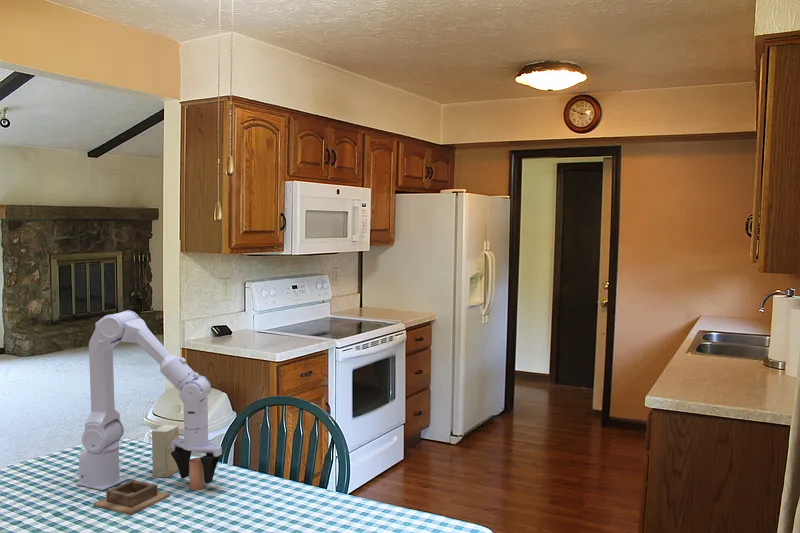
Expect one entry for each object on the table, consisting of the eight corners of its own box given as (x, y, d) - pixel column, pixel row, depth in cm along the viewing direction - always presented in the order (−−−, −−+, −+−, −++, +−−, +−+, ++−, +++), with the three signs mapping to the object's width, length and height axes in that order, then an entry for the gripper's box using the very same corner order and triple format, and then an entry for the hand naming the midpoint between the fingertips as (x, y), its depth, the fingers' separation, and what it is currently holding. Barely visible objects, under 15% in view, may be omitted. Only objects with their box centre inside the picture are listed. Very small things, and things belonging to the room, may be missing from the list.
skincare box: (167, 478, 172) (166, 432, 171) (151, 476, 173) (151, 431, 172) (179, 469, 178) (179, 425, 177) (164, 468, 179) (164, 424, 178)
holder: (93, 505, 154) (92, 492, 154) (133, 487, 165) (133, 475, 165) (131, 515, 149) (130, 502, 149) (170, 496, 160) (169, 483, 160)
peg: (186, 488, 165) (186, 461, 165) (196, 483, 168) (195, 456, 168) (197, 491, 164) (196, 463, 163) (206, 486, 167) (206, 458, 166)
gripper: (229, 425, 166) (230, 479, 166) (185, 418, 172) (185, 470, 172) (210, 433, 159) (211, 489, 160) (164, 425, 165) (165, 479, 166)
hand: (196, 479), depth 166 cm, fingers open, 7 cm apart
